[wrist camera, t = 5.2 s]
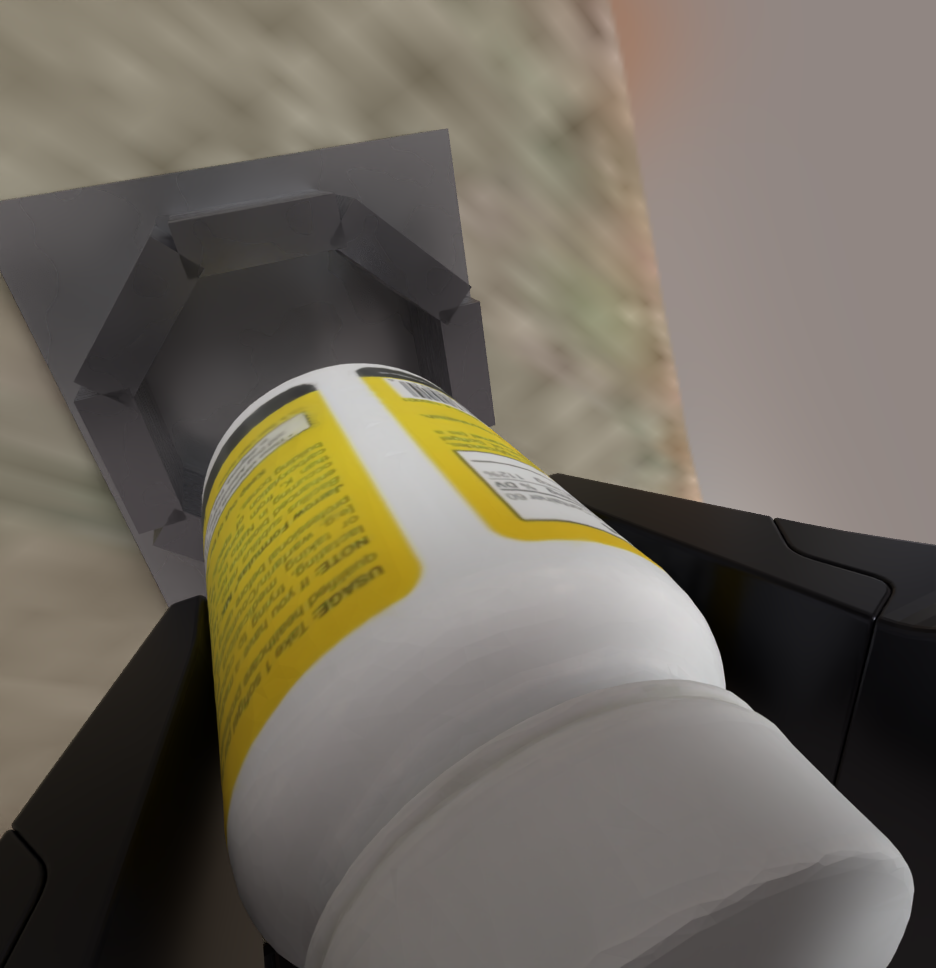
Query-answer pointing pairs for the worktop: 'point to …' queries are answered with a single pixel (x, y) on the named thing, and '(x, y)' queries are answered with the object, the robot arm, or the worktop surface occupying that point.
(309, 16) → the worktop surface
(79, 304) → the socket plate
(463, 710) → the supplement bottle
